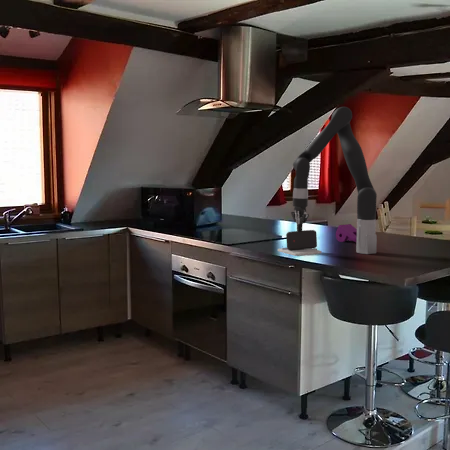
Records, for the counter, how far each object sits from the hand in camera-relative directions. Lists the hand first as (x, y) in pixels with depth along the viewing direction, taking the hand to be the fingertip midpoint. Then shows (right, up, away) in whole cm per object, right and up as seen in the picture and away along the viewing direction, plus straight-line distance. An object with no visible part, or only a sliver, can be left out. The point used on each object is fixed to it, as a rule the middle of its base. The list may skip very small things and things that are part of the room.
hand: (299, 231), depth 278 cm
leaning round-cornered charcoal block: (+1, -10, 0) cm, 10 cm away
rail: (0, -10, +1) cm, 10 cm away
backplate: (0, -11, +1) cm, 11 cm away
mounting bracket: (+36, -7, +35) cm, 50 cm away
